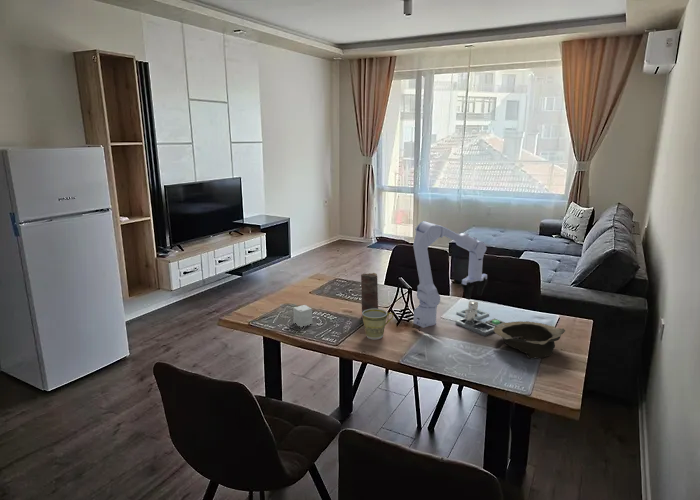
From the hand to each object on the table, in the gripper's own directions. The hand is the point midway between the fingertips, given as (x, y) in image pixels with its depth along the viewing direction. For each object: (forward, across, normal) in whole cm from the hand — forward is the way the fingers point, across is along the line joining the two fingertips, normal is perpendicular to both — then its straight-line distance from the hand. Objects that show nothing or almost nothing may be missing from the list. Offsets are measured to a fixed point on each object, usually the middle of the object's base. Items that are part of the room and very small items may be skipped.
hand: (473, 297), depth 201 cm
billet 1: (+9, 0, 0) cm, 9 cm away
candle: (+9, -36, +28) cm, 47 cm away
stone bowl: (+10, -8, -32) cm, 34 cm away
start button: (+10, -1, -13) cm, 17 cm away
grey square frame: (+9, 0, 0) cm, 9 cm away
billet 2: (+8, -10, -6) cm, 14 cm away
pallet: (+9, -10, -10) cm, 17 cm away
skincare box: (+9, -64, +39) cm, 76 cm away
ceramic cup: (+9, -46, +10) cm, 48 cm away
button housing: (+9, -1, -13) cm, 16 cm away
